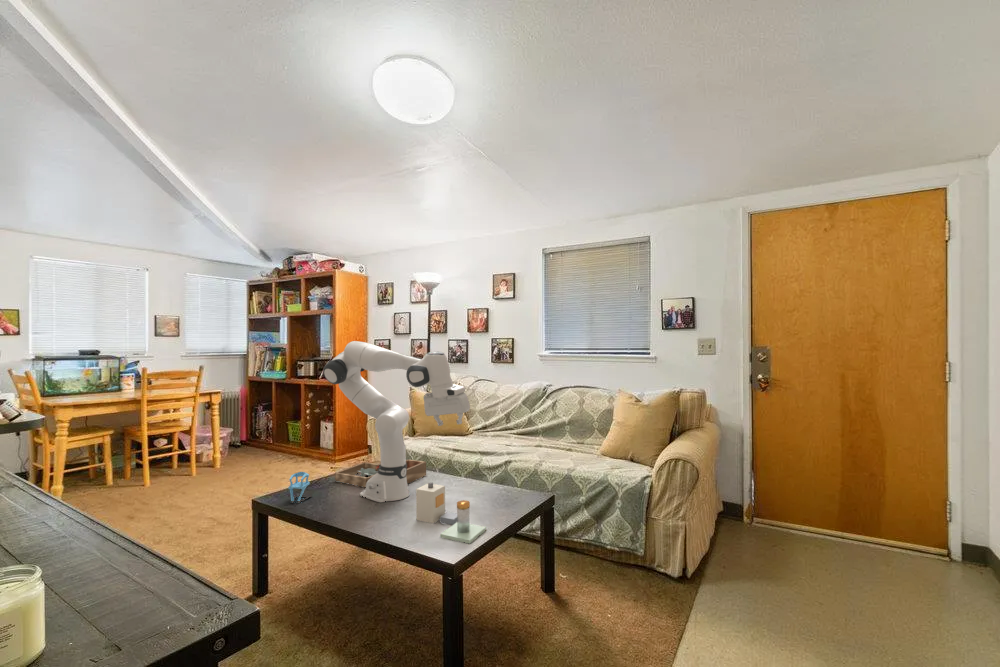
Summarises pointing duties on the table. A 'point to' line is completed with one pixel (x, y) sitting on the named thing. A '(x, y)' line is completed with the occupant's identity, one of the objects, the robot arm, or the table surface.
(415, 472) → the bracket holder
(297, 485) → the chair
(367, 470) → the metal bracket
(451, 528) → the pad
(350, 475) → the brown wooden tray
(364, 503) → the table surface
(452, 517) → the cover plate
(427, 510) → the box
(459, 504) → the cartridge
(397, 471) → the robot arm
